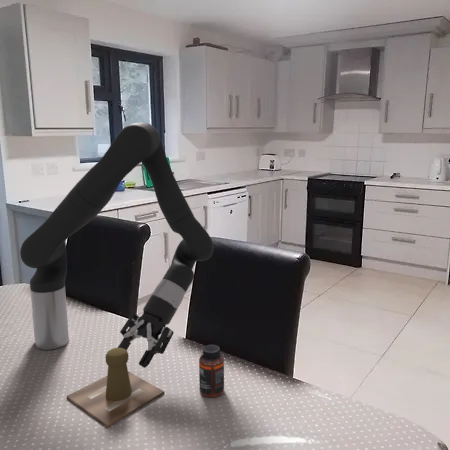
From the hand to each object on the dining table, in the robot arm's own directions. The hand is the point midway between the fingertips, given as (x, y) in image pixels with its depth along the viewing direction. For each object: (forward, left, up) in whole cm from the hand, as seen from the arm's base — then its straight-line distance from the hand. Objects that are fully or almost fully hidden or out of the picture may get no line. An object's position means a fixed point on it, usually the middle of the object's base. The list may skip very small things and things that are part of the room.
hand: (130, 360), depth 104 cm
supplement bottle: (+16, +12, -8) cm, 21 cm away
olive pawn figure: (0, -4, -7) cm, 8 cm away
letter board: (0, -4, -7) cm, 9 cm away
